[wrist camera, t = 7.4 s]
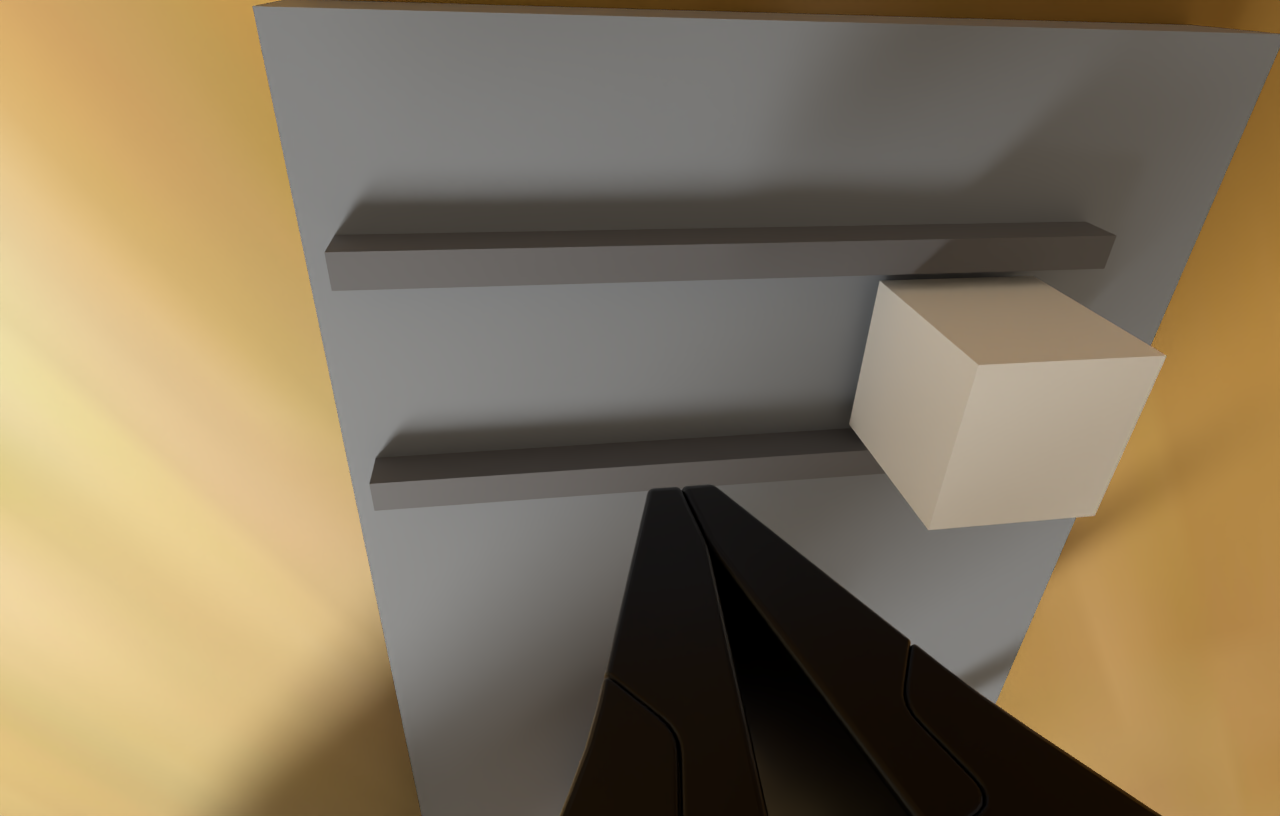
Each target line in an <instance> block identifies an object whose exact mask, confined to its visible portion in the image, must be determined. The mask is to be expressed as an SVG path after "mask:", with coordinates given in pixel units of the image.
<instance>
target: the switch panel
mask: <svg viewBox="0 0 1280 816" xmlns="http://www.w3.org/2000/svg"><path fill="white" fill-rule="evenodd" d="M253 11H254V16H255V20H256V25H257V30H258V35H259V40H260V44H261V49H262V54H263V59H264V64H265V68H266V73H267V78H268V83H269V87H270V92H271V97H272V102H273V107H274V111H275V116H276V121H277V126H278V131H279V135H280V140H281V145H282V150H283V154H284V159H285V164H286V169H287V174H288V178H289V183H290V188H291V193H292V198H293V202H294V207H295V212H296V217H297V221H298V226H299V231H300V236H301V241H302V245H303V250H304V255H305V260H306V264H307V269H308V274H309V279H310V284H311V288H312V293H313V298H314V303H315V308H316V312H317V317H318V322H319V327H320V331H321V336H322V341H323V346H324V351H325V355H326V360H327V365H328V370H329V375H330V379H331V384H332V389H333V394H334V398H335V403H336V408H337V413H338V418H339V422H340V427H341V432H342V437H343V442H344V446H345V451H346V456H347V461H348V465H349V470H350V475H351V480H352V485H353V489H354V494H355V499H356V504H357V508H358V513H359V518H360V523H361V528H362V532H363V537H364V542H365V547H366V552H367V556H368V561H369V566H370V571H371V575H372V580H373V585H374V590H375V595H376V599H377V604H378V609H379V614H380V619H381V623H382V628H383V633H384V638H385V642H386V647H387V652H388V657H389V662H390V666H391V671H392V676H393V681H394V686H395V690H396V695H397V700H398V705H399V709H400V714H401V719H402V724H403V729H404V733H405V738H406V743H407V748H408V753H409V757H410V762H411V767H412V772H413V776H414V781H415V786H416V791H417V796H418V800H419V805H420V810H421V815H422V816H559V815H560V813H561V810H562V808H563V806H564V803H565V801H566V798H567V796H568V793H569V790H570V787H571V785H572V782H573V779H574V776H575V774H576V771H577V768H578V765H579V763H580V760H581V757H582V755H583V752H584V749H585V746H586V742H587V739H588V735H589V732H590V728H591V724H592V721H593V717H594V714H595V710H596V706H597V702H598V698H599V694H600V689H601V685H602V682H603V680H604V674H605V670H606V666H607V662H608V657H609V653H610V649H611V645H612V641H613V636H614V632H615V628H616V624H617V620H618V615H619V611H620V607H621V603H622V598H623V594H624V590H625V586H626V582H627V577H628V573H629V569H630V565H631V561H632V556H633V552H634V548H635V544H636V539H637V535H638V531H639V527H640V523H641V518H642V514H643V510H644V506H645V502H646V497H647V493H648V491H649V490H650V489H653V488H666V487H678V488H680V489H681V490H682V489H683V488H684V487H685V486H693V485H707V484H711V485H714V486H716V487H717V488H719V489H720V490H721V491H722V492H724V493H725V494H726V495H728V496H729V497H730V498H731V499H733V500H734V501H735V502H736V503H738V504H739V505H740V506H741V507H743V508H744V509H745V510H747V511H748V512H749V513H750V514H752V515H753V516H754V517H755V518H757V519H758V520H759V521H760V522H762V523H763V524H764V525H766V526H767V527H768V528H769V529H771V530H772V531H773V532H774V533H776V534H777V535H778V536H779V537H781V538H782V539H783V540H784V541H786V542H787V543H788V544H790V545H791V546H792V547H793V548H795V549H796V550H797V551H798V552H800V553H801V554H802V555H803V556H805V557H806V558H807V559H809V560H810V561H811V562H812V563H814V564H815V565H816V566H817V567H819V568H820V569H821V570H822V571H824V572H825V573H826V574H828V575H829V576H830V577H831V578H833V579H834V580H835V581H836V582H838V583H839V584H840V585H841V586H843V587H844V588H845V589H847V590H848V591H849V592H850V593H852V594H853V595H854V596H855V597H857V598H858V599H859V600H860V601H862V602H863V603H864V604H865V605H867V606H868V607H869V608H871V609H872V610H873V611H874V612H876V613H877V614H878V615H879V616H881V617H882V618H883V619H884V620H886V621H887V622H888V623H890V624H891V625H892V626H893V627H895V628H896V629H897V630H898V631H900V632H901V633H902V634H903V635H905V636H906V637H907V638H909V639H910V641H911V645H913V644H916V645H918V646H919V647H920V648H922V649H923V650H924V651H925V652H927V653H928V654H929V655H930V656H932V657H933V658H934V659H935V660H937V661H938V662H939V663H941V664H942V665H943V666H944V667H946V668H947V669H948V670H950V671H951V672H952V673H954V674H955V675H956V676H958V677H959V678H960V679H962V680H963V681H964V682H966V683H967V684H968V685H970V686H971V687H972V688H974V689H975V690H976V691H978V692H979V693H980V694H982V695H983V696H984V697H986V698H987V699H989V700H990V701H992V702H993V703H994V704H995V703H996V701H997V699H998V696H999V694H1000V692H1001V690H1002V687H1003V685H1004V683H1005V680H1006V678H1007V676H1008V673H1009V671H1010V669H1011V666H1012V664H1013V662H1014V660H1015V657H1016V655H1017V653H1018V650H1019V648H1020V646H1021V643H1022V641H1023V639H1024V636H1025V634H1026V632H1027V630H1028V627H1029V625H1030V623H1031V620H1032V618H1033V616H1034V613H1035V611H1036V609H1037V607H1038V604H1039V602H1040V600H1041V597H1042V595H1043V593H1044V590H1045V588H1046V586H1047V583H1048V581H1049V579H1050V577H1051V574H1052V572H1053V570H1054V567H1055V565H1056V563H1057V560H1058V558H1059V556H1060V553H1061V551H1062V549H1063V547H1064V544H1065V542H1066V540H1067V537H1068V535H1069V533H1070V530H1071V528H1072V526H1073V523H1074V521H1075V519H1076V517H1075V518H1064V519H1052V520H1041V521H1029V522H1018V523H1006V524H994V525H983V526H971V527H960V528H948V529H937V530H928V529H927V528H926V526H925V525H924V524H923V522H922V521H921V520H920V518H919V517H918V516H917V514H916V513H915V512H914V510H913V509H912V508H911V506H910V505H909V504H908V502H907V501H906V500H905V498H904V497H903V496H902V494H901V493H900V492H899V490H898V489H897V488H896V486H895V485H894V484H893V482H892V481H891V480H890V478H889V477H888V476H887V474H886V473H885V472H884V470H883V469H882V468H881V466H880V465H879V464H878V462H877V461H876V460H875V458H874V457H873V456H872V454H871V453H870V451H869V450H868V449H867V447H866V446H865V445H864V443H863V442H862V441H861V439H860V438H859V437H858V435H857V434H856V433H855V431H854V430H853V429H852V427H851V426H850V425H849V422H850V418H851V413H852V408H853V403H854V399H855V394H856V389H857V385H858V380H859V375H860V371H861V366H862V361H863V356H864V352H865V347H866V342H867V338H868V333H869V328H870V323H871V319H872V314H873V309H874V305H875V300H876V295H877V290H878V286H879V281H883V280H916V279H949V278H982V277H1016V276H1034V277H1036V278H1038V279H1039V280H1041V281H1043V282H1044V283H1046V284H1048V285H1049V286H1051V287H1053V288H1054V289H1056V290H1058V291H1059V292H1061V293H1063V294H1064V295H1066V296H1068V297H1069V298H1071V299H1073V300H1074V301H1076V302H1078V303H1079V304H1081V305H1083V306H1084V307H1086V308H1088V309H1089V310H1091V311H1093V312H1094V313H1096V314H1098V315H1100V316H1101V317H1103V318H1105V319H1106V320H1108V321H1110V322H1111V323H1113V324H1115V325H1116V326H1118V327H1120V328H1121V329H1123V330H1125V331H1126V332H1128V333H1130V334H1131V335H1133V336H1135V337H1136V338H1138V339H1140V340H1141V341H1143V342H1145V343H1146V344H1148V345H1150V346H1151V344H1152V341H1153V339H1154V337H1155V334H1156V332H1157V330H1158V327H1159V325H1160V323H1161V321H1162V318H1163V316H1164V314H1165V311H1166V309H1167V307H1168V304H1169V302H1170V300H1171V297H1172V295H1173V293H1174V291H1175V288H1176V286H1177V284H1178V281H1179V279H1180V277H1181V274H1182V272H1183V270H1184V267H1185V265H1186V263H1187V261H1188V258H1189V256H1190V254H1191V251H1192V249H1193V247H1194V244H1195V242H1196V240H1197V237H1198V235H1199V233H1200V231H1201V228H1202V226H1203V224H1204V221H1205V219H1206V217H1207V214H1208V212H1209V210H1210V207H1211V205H1212V203H1213V201H1214V198H1215V196H1216V194H1217V191H1218V189H1219V187H1220V184H1221V182H1222V180H1223V178H1224V175H1225V173H1226V171H1227V168H1228V166H1229V164H1230V161H1231V159H1232V157H1233V154H1234V152H1235V150H1236V148H1237V145H1238V143H1239V141H1240V138H1241V136H1242V134H1243V131H1244V129H1245V127H1246V124H1247V122H1248V120H1249V118H1250V115H1251V113H1252V111H1253V108H1254V106H1255V104H1256V101H1257V99H1258V97H1259V94H1260V92H1261V90H1262V88H1263V85H1264V83H1265V81H1266V78H1267V76H1268V74H1269V71H1270V69H1271V67H1272V64H1273V62H1274V60H1275V58H1276V55H1277V53H1278V51H1279V48H1280V34H1277V33H1267V32H1257V31H1247V30H1237V29H1227V28H1217V27H1207V26H1197V25H1177V24H1142V23H1108V22H1073V21H1038V20H1004V19H969V18H934V17H900V16H865V15H830V14H796V13H761V12H726V11H692V10H657V9H622V8H588V7H553V6H518V5H484V4H449V3H415V2H380V1H345V0H281V1H276V2H271V3H266V4H261V5H256V6H253ZM910 647H911V646H910Z"/></svg>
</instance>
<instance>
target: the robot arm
mask: <svg viewBox="0 0 1280 816" xmlns="http://www.w3.org/2000/svg"><path fill="white" fill-rule="evenodd" d="M910 646H911V647H910ZM559 816H1162V815H1160V814H1159V813H1157V812H1155V811H1154V810H1152V809H1151V808H1149V807H1148V806H1146V805H1145V804H1143V803H1142V802H1140V801H1139V800H1137V799H1136V798H1134V797H1133V796H1131V795H1130V794H1128V793H1127V792H1125V791H1124V790H1122V789H1121V788H1119V787H1118V786H1116V785H1115V784H1113V783H1112V782H1110V781H1109V780H1107V779H1106V778H1104V777H1103V776H1101V775H1100V774H1098V773H1096V772H1095V771H1093V770H1092V769H1090V768H1089V767H1087V766H1086V765H1084V764H1083V763H1081V762H1080V761H1078V760H1077V759H1075V758H1074V757H1072V756H1071V755H1069V754H1068V753H1066V752H1065V751H1063V750H1062V749H1060V748H1059V747H1057V746H1056V745H1054V744H1053V743H1051V742H1050V741H1048V740H1047V739H1045V738H1044V737H1042V736H1041V735H1039V734H1038V733H1036V732H1035V731H1033V730H1032V729H1030V728H1029V727H1028V726H1026V725H1025V724H1023V723H1022V722H1020V721H1019V720H1017V719H1016V718H1015V717H1013V716H1012V715H1010V714H1009V713H1007V712H1006V711H1005V710H1003V709H1002V708H1000V707H999V706H997V705H996V704H994V703H993V702H992V701H990V700H989V699H987V698H986V697H984V696H983V695H982V694H980V693H979V692H978V691H976V690H975V689H974V688H972V687H971V686H970V685H968V684H967V683H966V682H964V681H963V680H962V679H960V678H959V677H958V676H956V675H955V674H954V673H952V672H951V671H950V670H948V669H947V668H946V667H944V666H943V665H942V664H941V663H939V662H938V661H937V660H935V659H934V658H933V657H932V656H930V655H929V654H928V653H927V652H925V651H924V650H923V649H922V648H920V647H919V646H918V645H916V644H913V645H911V641H910V639H909V638H907V637H906V636H905V635H903V634H902V633H901V632H900V631H898V630H897V629H896V628H895V627H893V626H892V625H891V624H890V623H888V622H887V621H886V620H884V619H883V618H882V617H881V616H879V615H878V614H877V613H876V612H874V611H873V610H872V609H871V608H869V607H868V606H867V605H865V604H864V603H863V602H862V601H860V600H859V599H858V598H857V597H855V596H854V595H853V594H852V593H850V592H849V591H848V590H847V589H845V588H844V587H843V586H841V585H840V584H839V583H838V582H836V581H835V580H834V579H833V578H831V577H830V576H829V575H828V574H826V573H825V572H824V571H822V570H821V569H820V568H819V567H817V566H816V565H815V564H814V563H812V562H811V561H810V560H809V559H807V558H806V557H805V556H803V555H802V554H801V553H800V552H798V551H797V550H796V549H795V548H793V547H792V546H791V545H790V544H788V543H787V542H786V541H784V540H783V539H782V538H781V537H779V536H778V535H777V534H776V533H774V532H773V531H772V530H771V529H769V528H768V527H767V526H766V525H764V524H763V523H762V522H760V521H759V520H758V519H757V518H755V517H754V516H753V515H752V514H750V513H749V512H748V511H747V510H745V509H744V508H743V507H741V506H740V505H739V504H738V503H736V502H735V501H734V500H733V499H731V498H730V497H729V496H728V495H726V494H725V493H724V492H722V491H721V490H720V489H719V488H717V487H716V486H714V485H711V484H707V485H693V486H685V487H684V488H683V489H682V490H681V489H680V488H678V487H666V488H653V489H650V490H649V491H648V493H647V497H646V502H645V506H644V510H643V514H642V518H641V523H640V527H639V531H638V535H637V539H636V544H635V548H634V552H633V556H632V561H631V565H630V569H629V573H628V577H627V582H626V586H625V590H624V594H623V598H622V603H621V607H620V611H619V615H618V620H617V624H616V628H615V632H614V636H613V641H612V645H611V649H610V653H609V657H608V662H607V666H606V670H605V674H604V680H603V682H602V685H601V689H600V694H599V698H598V702H597V706H596V710H595V714H594V717H593V721H592V724H591V728H590V732H589V735H588V739H587V742H586V746H585V749H584V752H583V755H582V757H581V760H580V763H579V765H578V768H577V771H576V774H575V776H574V779H573V782H572V785H571V787H570V790H569V793H568V796H567V798H566V801H565V803H564V806H563V808H562V810H561V813H560V815H559Z"/></svg>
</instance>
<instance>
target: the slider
mask: <svg viewBox="0 0 1280 816" xmlns="http://www.w3.org/2000/svg"><path fill="white" fill-rule="evenodd" d="M1165 358H1166V355H1165V354H1163V353H1161V352H1160V351H1158V350H1156V349H1155V348H1153V347H1151V346H1150V345H1148V344H1146V343H1145V342H1143V341H1141V340H1140V339H1138V338H1136V337H1135V336H1133V335H1131V334H1130V333H1128V332H1126V331H1125V330H1123V329H1121V328H1120V327H1118V326H1116V325H1115V324H1113V323H1111V322H1110V321H1108V320H1106V319H1105V318H1103V317H1101V316H1100V315H1098V314H1096V313H1094V312H1093V311H1091V310H1089V309H1088V308H1086V307H1084V306H1083V305H1081V304H1079V303H1078V302H1076V301H1074V300H1073V299H1071V298H1069V297H1068V296H1066V295H1064V294H1063V293H1061V292H1059V291H1058V290H1056V289H1054V288H1053V287H1051V286H1049V285H1048V284H1046V283H1044V282H1043V281H1041V280H1039V279H1038V278H1036V277H1034V276H1016V277H982V278H949V279H916V280H883V281H879V286H878V290H877V295H876V300H875V305H874V309H873V314H872V319H871V323H870V328H869V333H868V338H867V342H866V347H865V352H864V356H863V361H862V366H861V371H860V375H859V380H858V385H857V389H856V394H855V399H854V403H853V408H852V413H851V418H850V422H849V425H850V426H851V427H852V429H853V430H854V431H855V433H856V434H857V435H858V437H859V438H860V439H861V441H862V442H863V443H864V445H865V446H866V447H867V449H868V450H869V451H870V453H871V454H872V456H873V457H874V458H875V460H876V461H877V462H878V464H879V465H880V466H881V468H882V469H883V470H884V472H885V473H886V474H887V476H888V477H889V478H890V480H891V481H892V482H893V484H894V485H895V486H896V488H897V489H898V490H899V492H900V493H901V494H902V496H903V497H904V498H905V500H906V501H907V502H908V504H909V505H910V506H911V508H912V509H913V510H914V512H915V513H916V514H917V516H918V517H919V518H920V520H921V521H922V522H923V524H924V525H925V526H926V528H927V529H928V530H937V529H948V528H960V527H971V526H983V525H994V524H1006V523H1018V522H1029V521H1041V520H1052V519H1064V518H1075V517H1087V516H1095V514H1096V512H1097V509H1098V507H1099V505H1100V503H1101V501H1102V498H1103V496H1104V494H1105V492H1106V489H1107V487H1108V485H1109V483H1110V481H1111V478H1112V476H1113V474H1114V472H1115V469H1116V467H1117V465H1118V463H1119V461H1120V458H1121V456H1122V454H1123V452H1124V449H1125V447H1126V445H1127V443H1128V441H1129V438H1130V436H1131V434H1132V432H1133V429H1134V427H1135V425H1136V423H1137V420H1138V418H1139V416H1140V414H1141V412H1142V409H1143V407H1144V405H1145V403H1146V400H1147V398H1148V396H1149V394H1150V392H1151V389H1152V387H1153V385H1154V383H1155V380H1156V378H1157V376H1158V374H1159V372H1160V369H1161V367H1162V365H1163V363H1164V360H1165Z"/></svg>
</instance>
